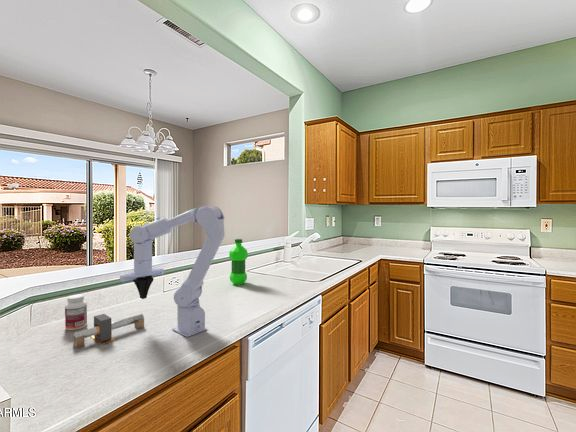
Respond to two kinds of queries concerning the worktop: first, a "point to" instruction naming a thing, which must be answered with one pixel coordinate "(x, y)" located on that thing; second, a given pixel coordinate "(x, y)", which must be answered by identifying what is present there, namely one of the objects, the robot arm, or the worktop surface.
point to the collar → (103, 327)
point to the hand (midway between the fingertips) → (143, 298)
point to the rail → (136, 320)
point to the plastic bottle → (238, 263)
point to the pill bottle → (75, 312)
